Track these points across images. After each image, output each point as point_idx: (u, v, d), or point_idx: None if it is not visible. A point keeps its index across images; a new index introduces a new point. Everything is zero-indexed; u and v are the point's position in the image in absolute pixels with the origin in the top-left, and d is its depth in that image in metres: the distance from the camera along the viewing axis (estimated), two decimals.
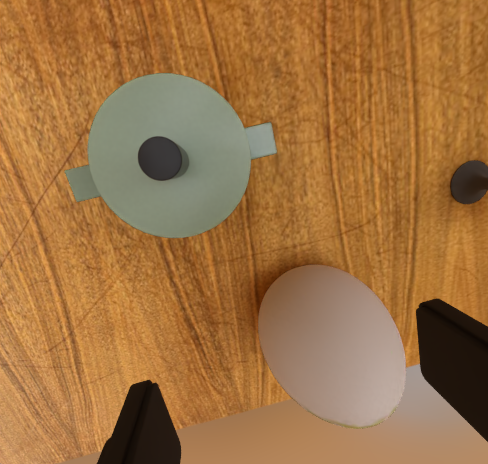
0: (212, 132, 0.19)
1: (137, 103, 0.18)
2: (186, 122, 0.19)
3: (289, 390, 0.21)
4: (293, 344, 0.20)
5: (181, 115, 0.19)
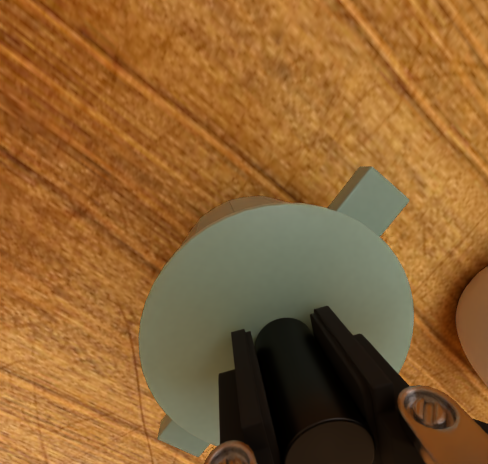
0: (311, 263, 0.10)
1: (181, 314, 0.10)
2: (265, 282, 0.10)
3: None
4: None
5: (251, 278, 0.10)
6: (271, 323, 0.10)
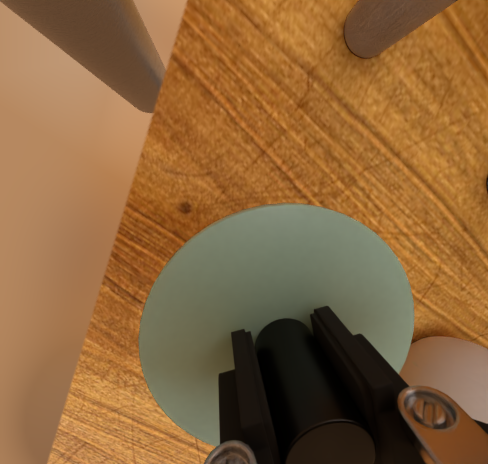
0: (311, 264, 0.10)
1: (181, 315, 0.10)
2: (265, 283, 0.10)
3: None
4: None
5: (251, 279, 0.10)
6: (271, 324, 0.10)
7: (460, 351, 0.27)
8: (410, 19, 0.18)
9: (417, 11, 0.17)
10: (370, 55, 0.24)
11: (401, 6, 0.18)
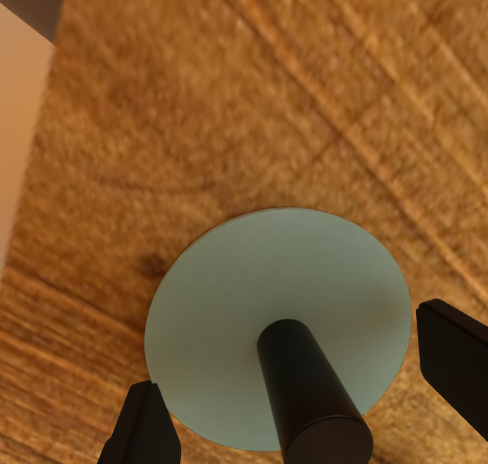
0: (311, 266, 0.11)
1: (185, 315, 0.10)
2: (266, 284, 0.10)
3: None
4: None
5: (253, 281, 0.10)
6: (273, 324, 0.11)
7: None
8: None
9: None
10: None
11: None
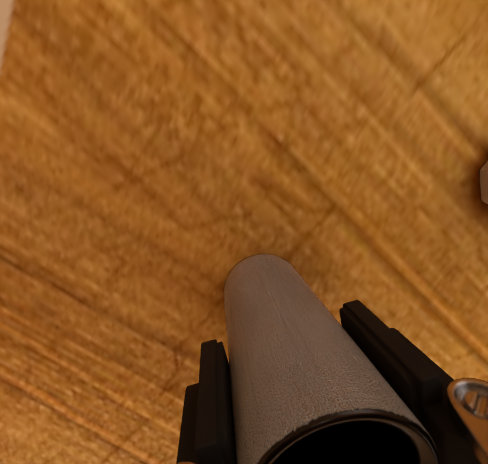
0: None
1: None
2: None
3: None
4: None
5: None
6: None
7: None
8: None
9: None
10: None
11: None
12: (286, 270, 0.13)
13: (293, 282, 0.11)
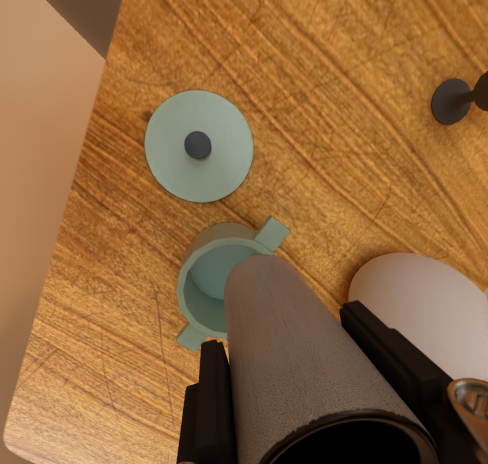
0: (208, 114, 0.28)
1: (160, 132, 0.28)
2: (191, 121, 0.28)
3: None
4: None
5: (186, 119, 0.28)
6: None
7: (403, 256, 0.29)
8: None
9: None
10: None
11: None
12: (286, 270, 0.13)
13: (293, 282, 0.11)
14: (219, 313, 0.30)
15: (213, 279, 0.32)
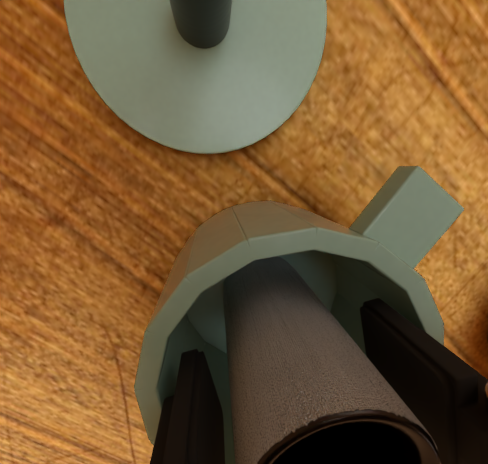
0: None
1: None
2: None
3: None
4: None
5: None
6: None
7: None
8: None
9: None
10: None
11: None
12: (286, 269, 0.13)
13: (293, 281, 0.11)
14: None
15: None
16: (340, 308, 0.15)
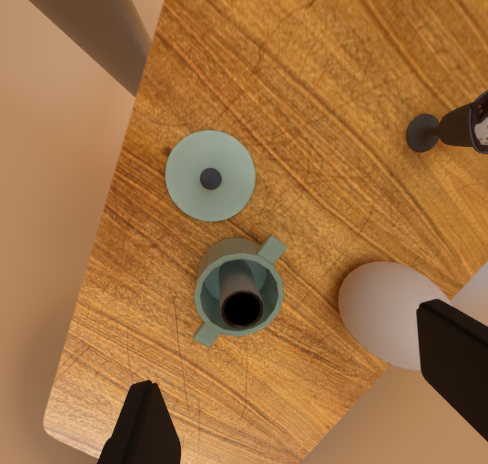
0: (218, 149, 0.33)
1: (178, 164, 0.33)
2: (204, 155, 0.33)
3: None
4: (376, 341, 0.31)
5: (199, 153, 0.33)
6: (206, 169, 0.33)
7: (382, 265, 0.35)
8: None
9: None
10: None
11: None
12: (241, 264, 0.35)
13: (242, 268, 0.34)
14: None
15: None
16: (267, 280, 0.38)
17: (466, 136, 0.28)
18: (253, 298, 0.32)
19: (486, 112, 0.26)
